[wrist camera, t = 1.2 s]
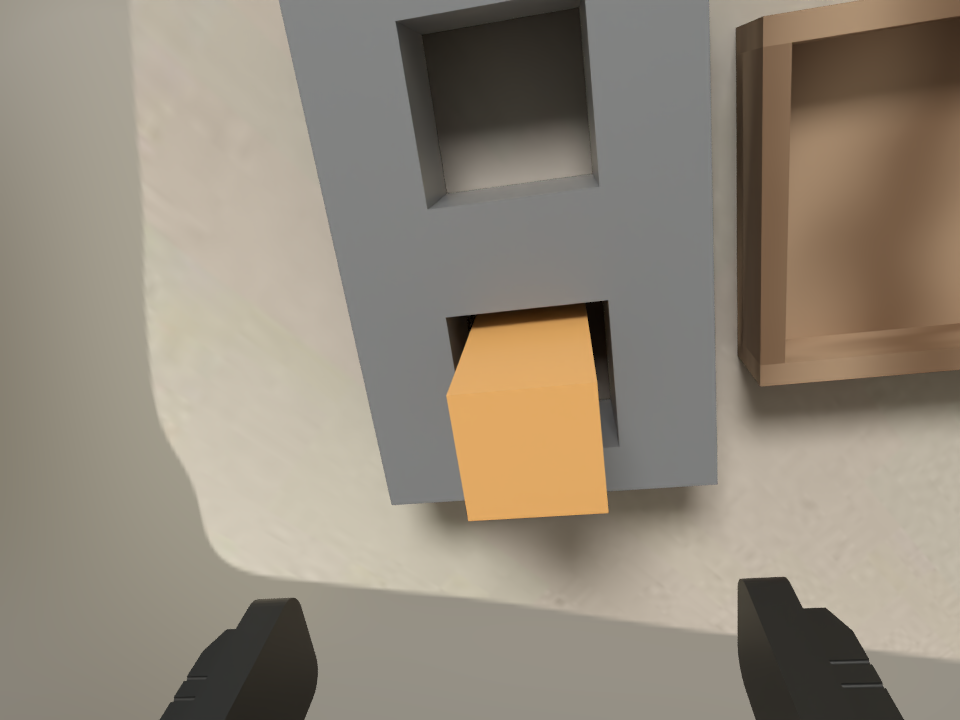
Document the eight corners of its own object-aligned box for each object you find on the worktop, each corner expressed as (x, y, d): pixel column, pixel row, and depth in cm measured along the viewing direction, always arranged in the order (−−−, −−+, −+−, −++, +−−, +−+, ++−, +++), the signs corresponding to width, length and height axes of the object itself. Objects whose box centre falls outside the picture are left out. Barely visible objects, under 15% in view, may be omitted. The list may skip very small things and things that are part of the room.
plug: (583, 290, 25) (597, 382, 17) (591, 384, 27) (608, 513, 18) (481, 301, 26) (446, 395, 17) (495, 393, 27) (468, 520, 19)
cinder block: (679, -76, 20) (707, -115, 17) (695, 431, 27) (717, 484, 23) (319, -7, 22) (272, -29, 19) (412, 453, 29) (391, 505, 25)
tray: (1137, -39, 20) (1233, -62, 17) (1070, 325, 24) (1138, 354, 21) (736, 27, 21) (763, 16, 19) (737, 355, 25) (760, 386, 23)
